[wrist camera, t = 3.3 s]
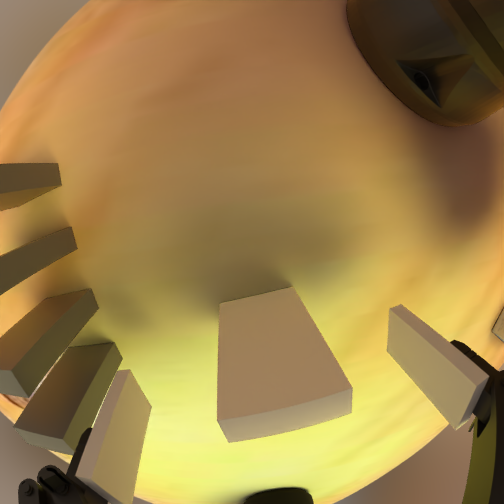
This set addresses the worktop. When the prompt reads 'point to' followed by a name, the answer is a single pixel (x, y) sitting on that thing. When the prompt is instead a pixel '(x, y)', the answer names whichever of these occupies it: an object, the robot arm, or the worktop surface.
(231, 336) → the domino
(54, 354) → the domino
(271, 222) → the worktop surface
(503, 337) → the medicine box
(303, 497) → the coffee jar
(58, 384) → the domino
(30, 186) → the domino
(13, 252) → the domino
